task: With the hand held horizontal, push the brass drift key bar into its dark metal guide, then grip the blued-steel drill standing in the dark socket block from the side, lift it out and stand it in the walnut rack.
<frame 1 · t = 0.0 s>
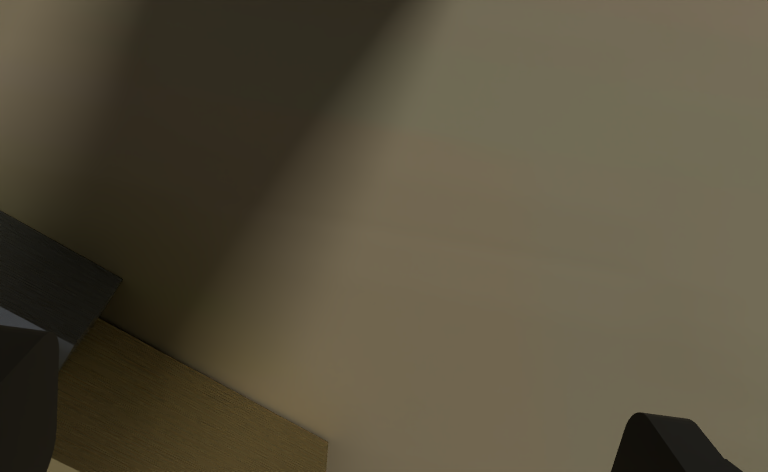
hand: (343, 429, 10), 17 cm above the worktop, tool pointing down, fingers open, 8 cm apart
key guide: (191, 399, 30), on the worktop
drift key: (167, 461, 26), point 4 cm above the worktop, slide at 0.0 cm
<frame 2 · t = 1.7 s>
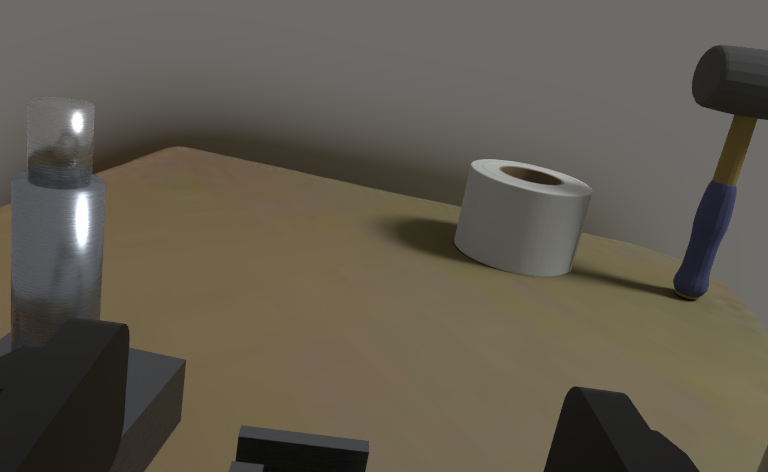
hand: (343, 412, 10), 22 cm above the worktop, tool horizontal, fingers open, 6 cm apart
roll of tape: (511, 255, 92), on the worktop
rubber mallet: (685, 297, 87), on the worktop
drill: (54, 415, 40), point 3 cm above the worktop, touching socket block
socket block: (53, 451, 41), on the worktop
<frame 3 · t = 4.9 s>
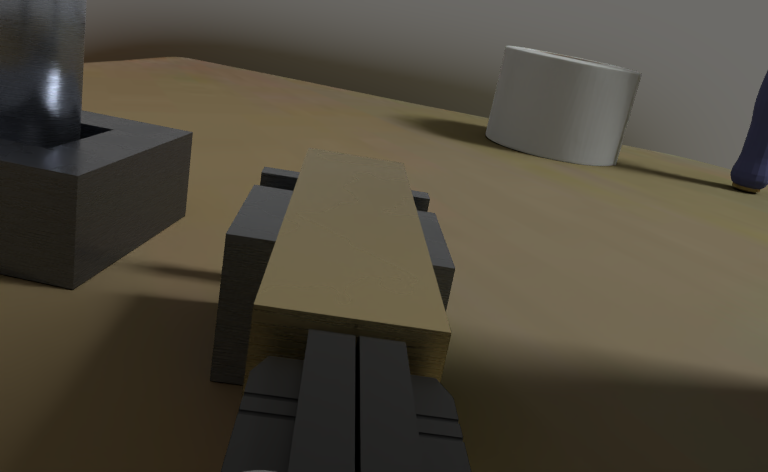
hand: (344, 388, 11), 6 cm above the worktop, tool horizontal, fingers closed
roll of tape: (548, 150, 83), on the worktop
rubber mallet: (744, 192, 79), on the worktop
drill: (25, 170, 32), point 3 cm above the worktop, touching socket block
drift key: (331, 352, 17), point 4 cm above the worktop, slide at 0.6 cm, touching gripper
socket block: (24, 222, 32), on the worktop
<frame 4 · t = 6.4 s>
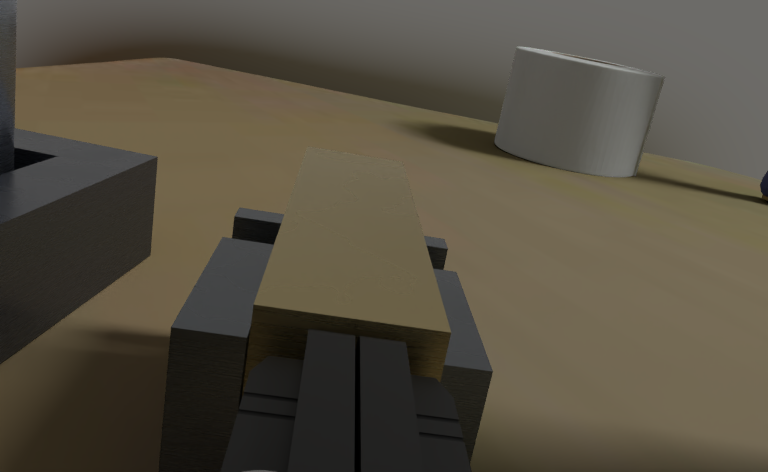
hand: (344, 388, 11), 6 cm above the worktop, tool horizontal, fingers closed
roll of tape: (562, 160, 77), on the worktop
drift key: (330, 351, 17), point 4 cm above the worktop, slide at 7.0 cm, touching gripper
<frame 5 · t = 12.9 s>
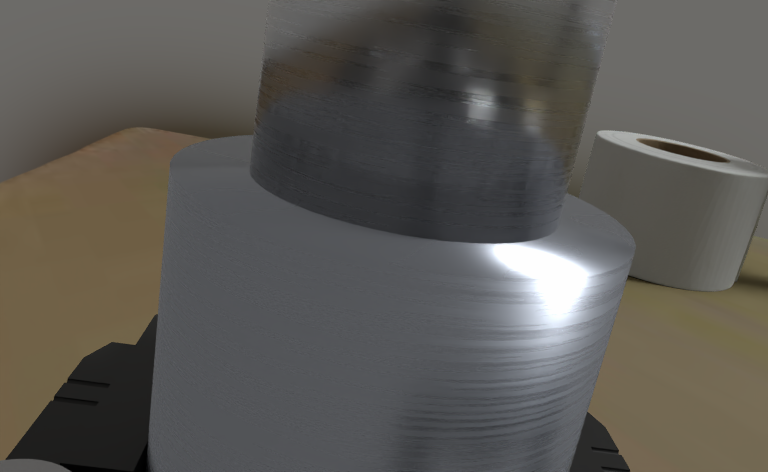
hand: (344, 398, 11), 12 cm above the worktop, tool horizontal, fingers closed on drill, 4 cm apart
roll of tape: (647, 260, 67), on the worktop
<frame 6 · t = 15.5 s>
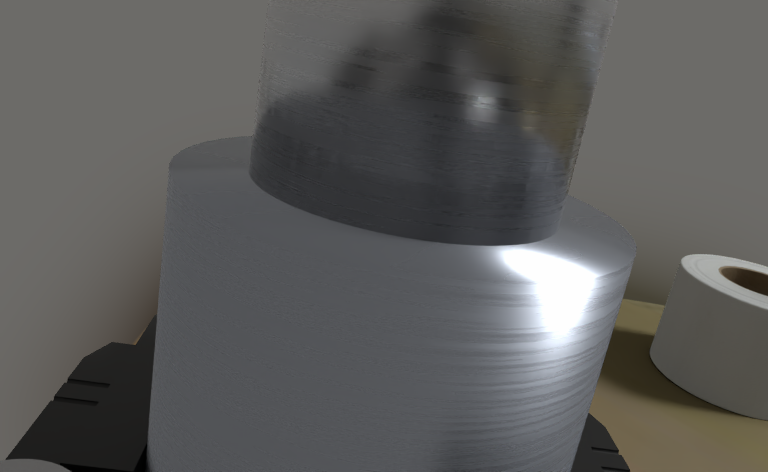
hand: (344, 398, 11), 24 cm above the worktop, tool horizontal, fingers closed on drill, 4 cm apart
roll of tape: (726, 380, 72), on the worktop
when the fingers open (12 cm above the worktop, at t = 18.1 s): drill stays where it is, resting on rack.
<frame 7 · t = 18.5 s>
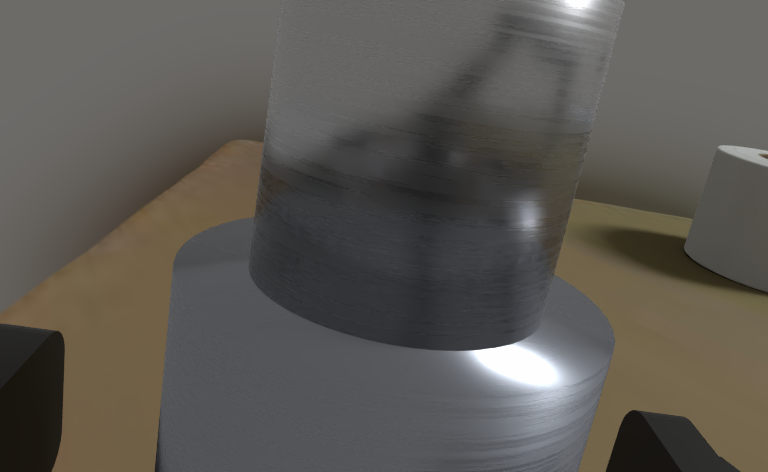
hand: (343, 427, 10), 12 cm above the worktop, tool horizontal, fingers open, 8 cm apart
roll of tape: (765, 274, 68), on the worktop
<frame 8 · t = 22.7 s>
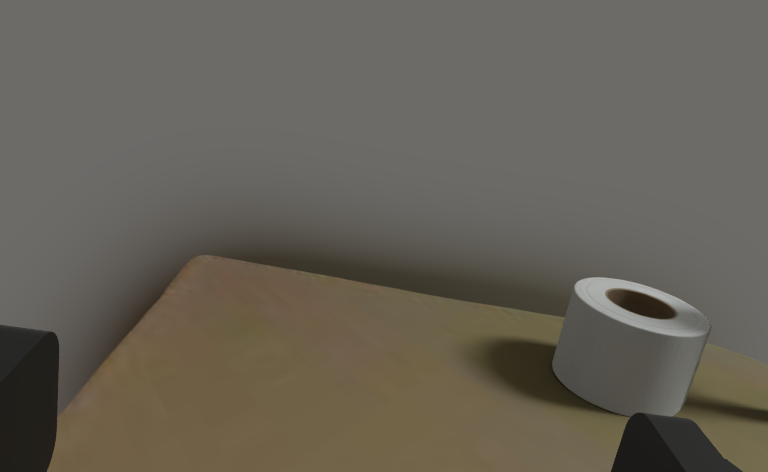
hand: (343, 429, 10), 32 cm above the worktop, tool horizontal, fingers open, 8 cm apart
roll of tape: (614, 385, 85), on the worktop
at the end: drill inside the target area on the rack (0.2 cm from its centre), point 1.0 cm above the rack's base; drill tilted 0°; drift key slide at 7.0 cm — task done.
